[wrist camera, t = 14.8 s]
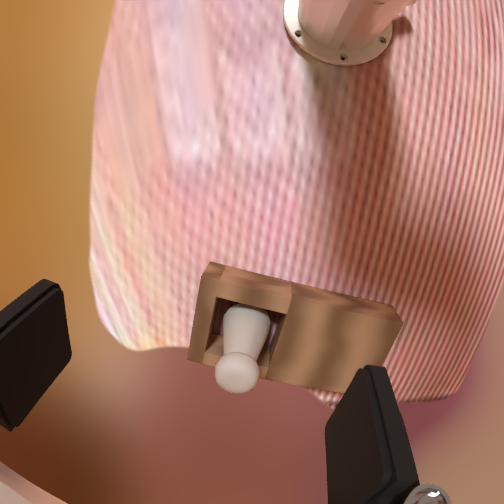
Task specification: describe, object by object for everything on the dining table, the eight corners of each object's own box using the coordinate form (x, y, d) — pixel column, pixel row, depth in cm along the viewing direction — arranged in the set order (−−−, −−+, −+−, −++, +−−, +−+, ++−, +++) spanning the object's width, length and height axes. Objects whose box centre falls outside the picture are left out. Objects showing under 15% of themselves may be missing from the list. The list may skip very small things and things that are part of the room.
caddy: (392, 305, 38) (403, 323, 34) (358, 375, 42) (364, 395, 38) (210, 261, 38) (201, 275, 34) (195, 340, 42) (187, 359, 38)
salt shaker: (217, 312, 40) (192, 377, 28) (247, 285, 39) (232, 347, 26) (249, 340, 41) (236, 410, 29) (280, 315, 40) (279, 384, 27)
